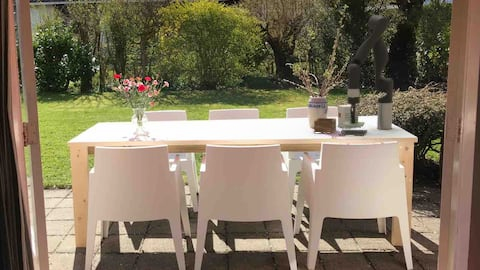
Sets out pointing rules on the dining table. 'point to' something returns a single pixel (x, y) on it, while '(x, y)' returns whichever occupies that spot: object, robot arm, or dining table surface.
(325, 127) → the walnut box
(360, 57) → the robot arm
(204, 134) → the dining table surface
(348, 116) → the supplement box
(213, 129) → the dining table surface
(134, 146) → the dining table surface
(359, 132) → the rubber mat
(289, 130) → the dining table surface
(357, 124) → the lid
